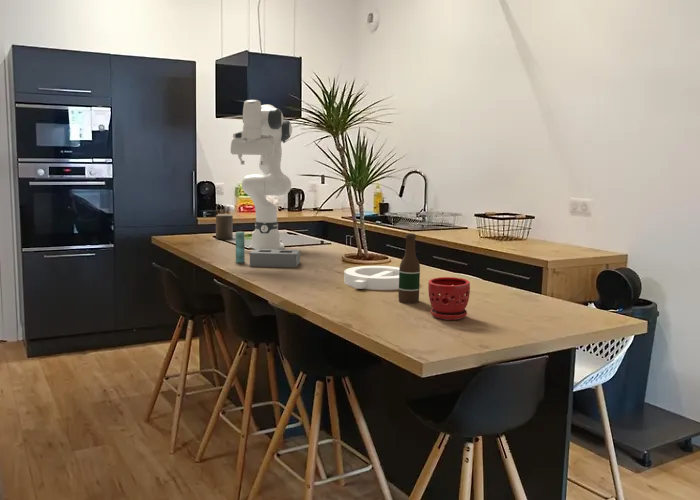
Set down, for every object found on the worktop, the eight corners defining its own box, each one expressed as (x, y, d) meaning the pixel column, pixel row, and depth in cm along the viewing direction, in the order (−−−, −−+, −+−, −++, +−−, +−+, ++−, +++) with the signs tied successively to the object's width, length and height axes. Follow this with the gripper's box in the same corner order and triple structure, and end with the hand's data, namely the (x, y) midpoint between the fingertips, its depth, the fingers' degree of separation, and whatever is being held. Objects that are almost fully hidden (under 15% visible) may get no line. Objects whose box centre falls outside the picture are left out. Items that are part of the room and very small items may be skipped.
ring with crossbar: (355, 292, 252) (355, 279, 251) (336, 278, 279) (336, 266, 278) (424, 289, 260) (424, 277, 259) (400, 275, 286) (400, 264, 285)
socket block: (255, 261, 313) (255, 248, 312) (300, 262, 312) (300, 249, 311) (249, 266, 300) (249, 252, 300) (296, 267, 299) (296, 254, 298)
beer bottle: (423, 303, 234) (425, 235, 231) (402, 304, 232) (404, 235, 228) (414, 298, 242) (417, 232, 238) (394, 299, 239) (396, 232, 236)
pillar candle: (224, 240, 383) (224, 213, 381) (212, 238, 388) (212, 212, 386) (236, 238, 391) (236, 212, 389) (223, 237, 396) (224, 211, 394)
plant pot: (431, 310, 224) (432, 275, 222) (470, 314, 220) (472, 278, 218) (423, 320, 211) (425, 282, 209) (465, 323, 207) (467, 285, 206)
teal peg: (236, 261, 312) (236, 231, 310) (245, 261, 312) (245, 231, 310) (234, 262, 308) (234, 232, 306) (243, 263, 308) (243, 232, 306)
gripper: (275, 135, 316) (275, 165, 318) (232, 134, 317) (232, 164, 319) (273, 135, 310) (273, 165, 312) (229, 134, 311) (229, 164, 313)
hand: (252, 164), depth 315 cm, fingers open, 8 cm apart
